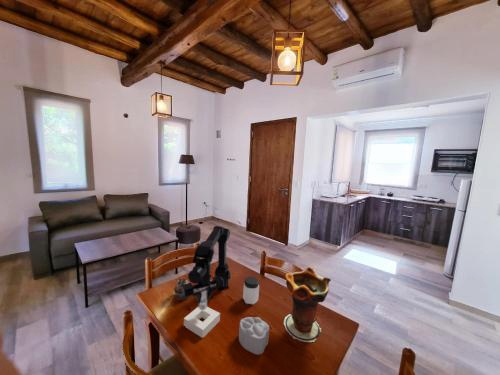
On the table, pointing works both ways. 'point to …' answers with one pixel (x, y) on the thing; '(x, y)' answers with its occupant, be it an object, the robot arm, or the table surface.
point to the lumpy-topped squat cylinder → (253, 334)
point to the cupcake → (180, 290)
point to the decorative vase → (305, 303)
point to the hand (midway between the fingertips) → (202, 302)
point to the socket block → (198, 326)
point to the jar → (251, 290)
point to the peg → (203, 298)
